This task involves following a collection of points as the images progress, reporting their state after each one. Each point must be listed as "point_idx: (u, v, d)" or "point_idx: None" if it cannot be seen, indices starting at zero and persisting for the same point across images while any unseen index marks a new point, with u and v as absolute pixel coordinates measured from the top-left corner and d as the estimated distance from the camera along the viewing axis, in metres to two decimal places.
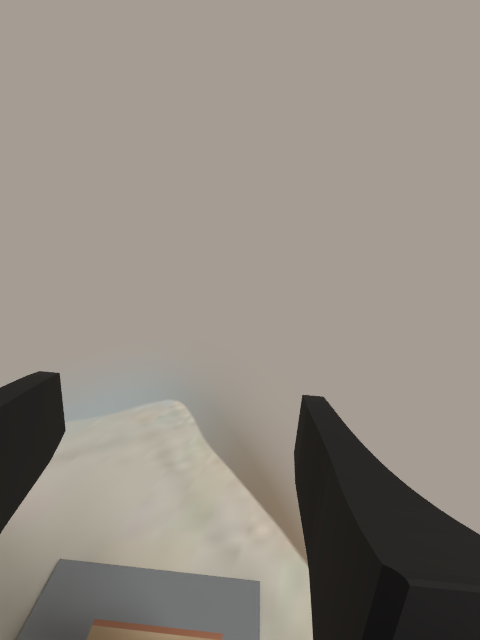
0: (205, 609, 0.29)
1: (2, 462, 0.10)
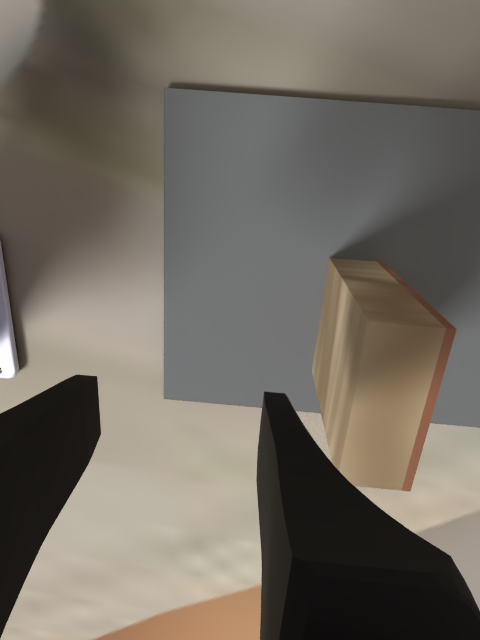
0: None
1: (48, 466, 0.10)
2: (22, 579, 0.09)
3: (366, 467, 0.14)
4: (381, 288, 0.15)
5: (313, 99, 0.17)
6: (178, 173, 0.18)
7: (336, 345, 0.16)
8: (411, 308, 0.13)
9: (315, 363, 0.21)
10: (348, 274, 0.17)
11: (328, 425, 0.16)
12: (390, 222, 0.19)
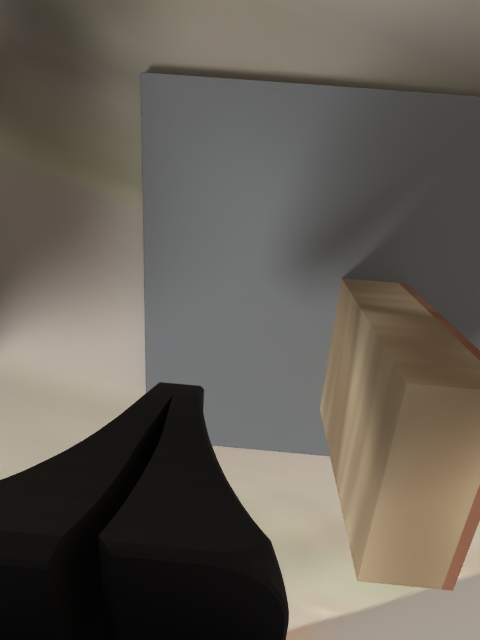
0: None
1: None
2: None
3: (396, 562, 0.11)
4: (411, 323, 0.12)
5: (324, 86, 0.14)
6: (159, 177, 0.15)
7: (353, 393, 0.13)
8: (457, 357, 0.10)
9: (324, 402, 0.17)
10: (367, 303, 0.14)
11: (343, 491, 0.13)
12: (416, 236, 0.15)
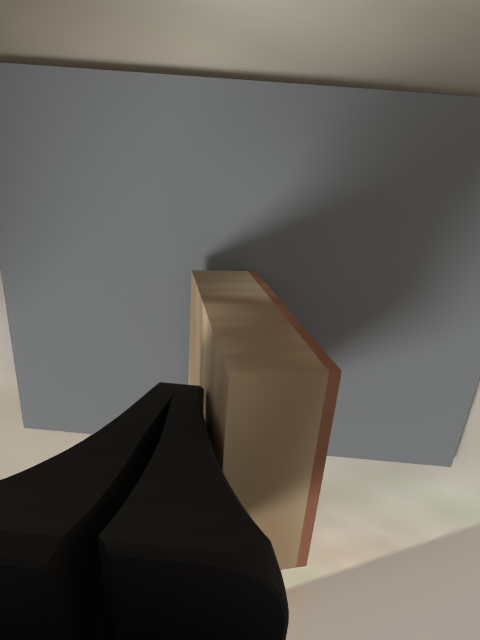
0: (411, 393, 0.18)
1: None
2: None
3: None
4: (250, 311, 0.12)
5: (149, 74, 0.14)
6: (2, 165, 0.15)
7: (203, 387, 0.13)
8: (286, 342, 0.10)
9: None
10: (211, 294, 0.13)
11: None
12: (258, 224, 0.16)
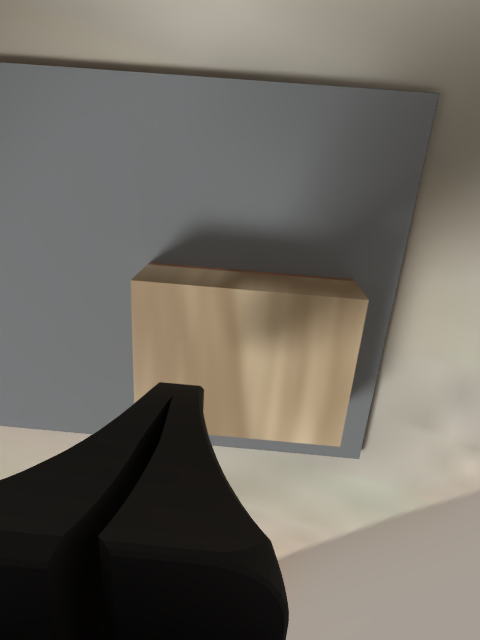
0: None
1: None
2: None
3: None
4: (261, 280, 0.15)
5: (25, 65, 0.14)
6: None
7: (256, 356, 0.15)
8: (316, 281, 0.15)
9: None
10: (214, 284, 0.14)
11: (275, 428, 0.16)
12: (146, 215, 0.16)
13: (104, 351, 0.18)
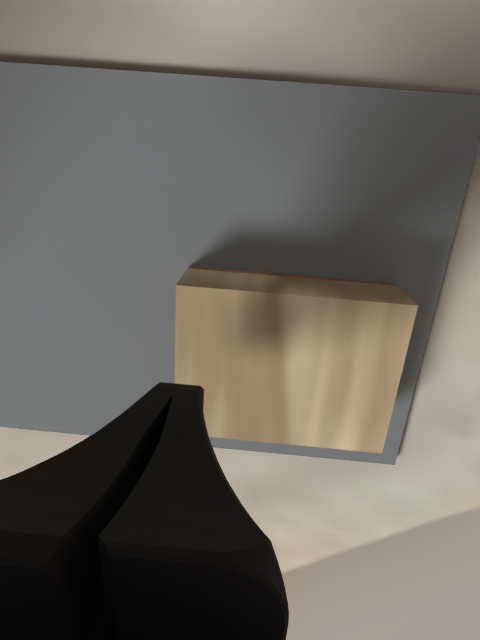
0: None
1: None
2: None
3: None
4: (304, 285, 0.15)
5: (70, 67, 0.14)
6: None
7: (300, 361, 0.15)
8: (360, 286, 0.15)
9: None
10: (259, 288, 0.14)
11: (316, 435, 0.16)
12: (187, 218, 0.16)
13: (140, 355, 0.18)
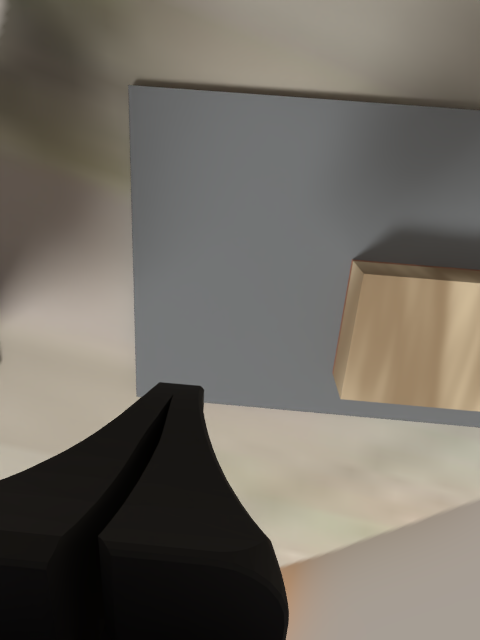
0: None
1: None
2: None
3: None
4: (458, 274, 0.18)
5: (276, 96, 0.17)
6: (144, 170, 0.18)
7: (457, 337, 0.18)
8: None
9: (358, 385, 0.19)
10: (429, 277, 0.17)
11: (462, 399, 0.19)
12: (356, 219, 0.19)
13: (298, 335, 0.21)
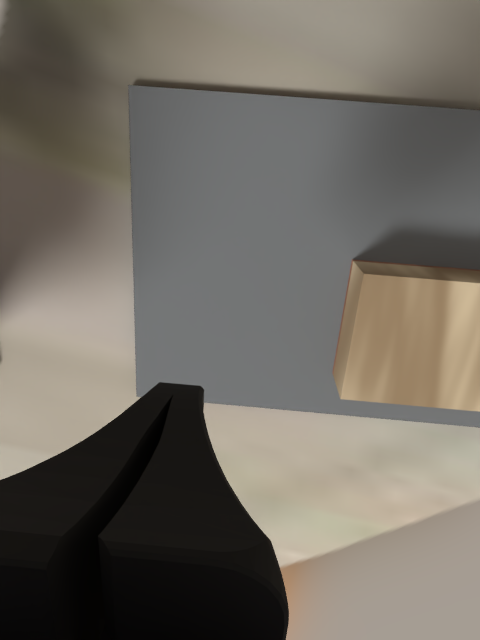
0: None
1: None
2: None
3: None
4: (458, 274, 0.18)
5: (276, 96, 0.17)
6: (144, 170, 0.18)
7: (457, 337, 0.18)
8: None
9: (358, 385, 0.19)
10: (429, 277, 0.17)
11: (462, 399, 0.19)
12: (356, 219, 0.19)
13: (298, 335, 0.21)
